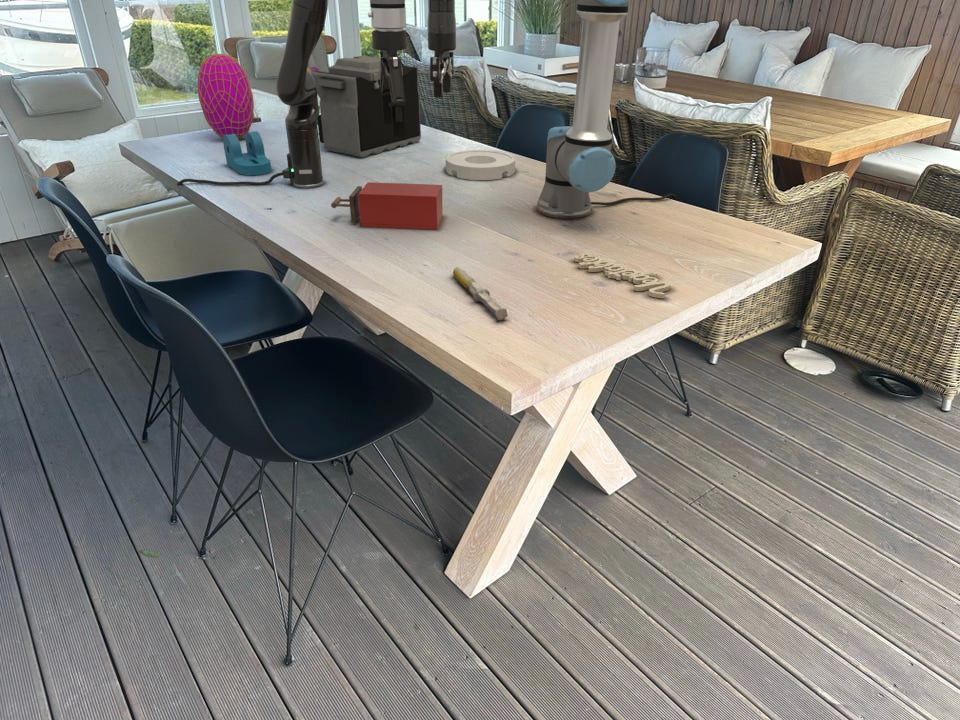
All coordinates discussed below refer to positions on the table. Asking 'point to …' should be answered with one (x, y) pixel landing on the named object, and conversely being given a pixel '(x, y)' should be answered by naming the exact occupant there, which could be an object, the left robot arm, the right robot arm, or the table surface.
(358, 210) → the drawer
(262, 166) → the camera mount
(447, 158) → the ashtray
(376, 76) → the cooler box
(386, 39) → the right robot arm
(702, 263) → the table surface
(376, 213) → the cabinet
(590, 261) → the decorative sign
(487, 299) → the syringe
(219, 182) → the left robot arm
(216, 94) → the decorative egg
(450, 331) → the table surface
